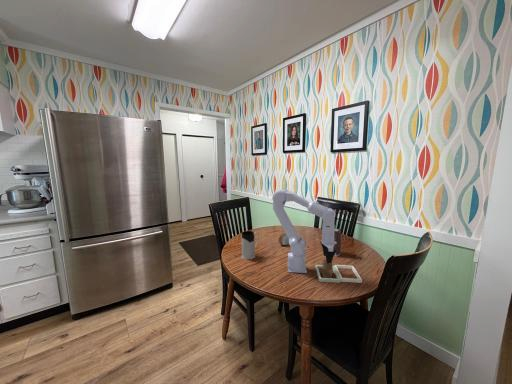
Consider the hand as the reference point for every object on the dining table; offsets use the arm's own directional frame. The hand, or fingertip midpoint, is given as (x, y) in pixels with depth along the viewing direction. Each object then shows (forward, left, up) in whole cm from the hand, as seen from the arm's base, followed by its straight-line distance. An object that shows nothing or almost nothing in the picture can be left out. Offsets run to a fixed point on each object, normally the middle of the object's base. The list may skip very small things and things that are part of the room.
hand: (327, 259), depth 104 cm
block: (0, 0, -8) cm, 8 cm away
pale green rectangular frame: (0, 0, -8) cm, 8 cm away
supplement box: (+8, +26, -8) cm, 28 cm away
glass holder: (-42, +19, -8) cm, 47 cm away
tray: (+10, +1, -8) cm, 13 cm away
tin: (-19, +39, -8) cm, 44 cm away
